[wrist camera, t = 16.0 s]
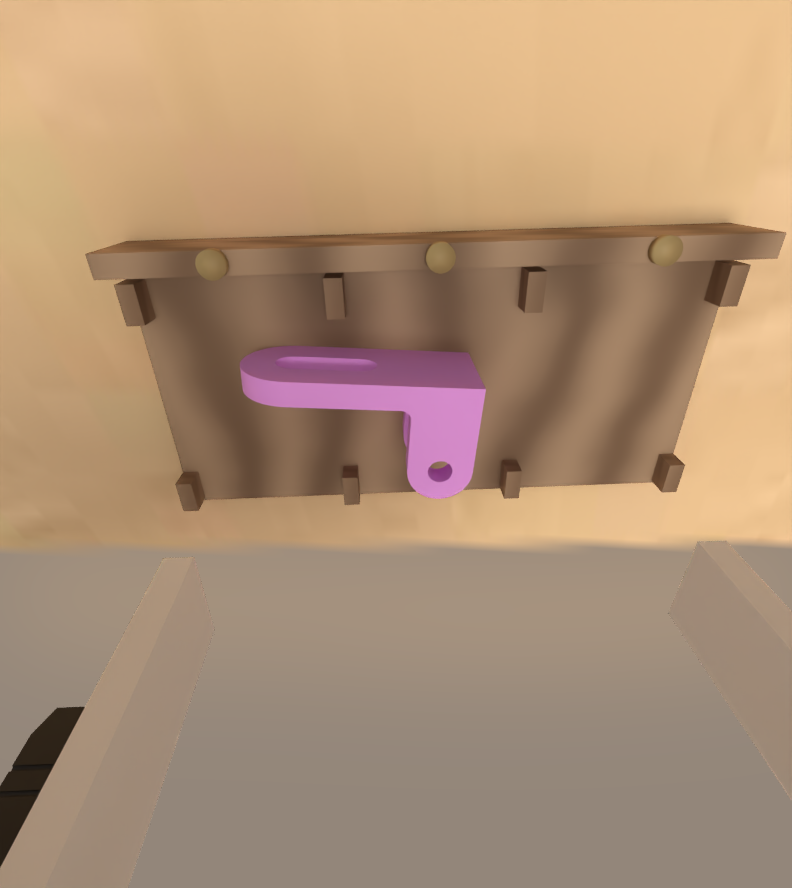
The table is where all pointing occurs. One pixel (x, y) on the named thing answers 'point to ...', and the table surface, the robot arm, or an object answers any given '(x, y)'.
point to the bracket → (385, 399)
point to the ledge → (436, 347)
